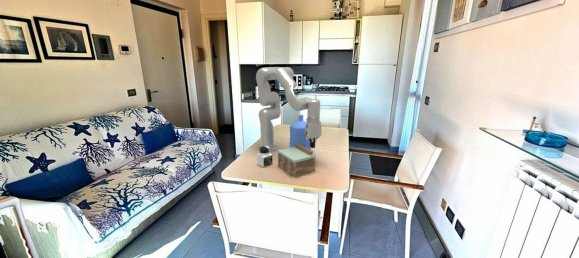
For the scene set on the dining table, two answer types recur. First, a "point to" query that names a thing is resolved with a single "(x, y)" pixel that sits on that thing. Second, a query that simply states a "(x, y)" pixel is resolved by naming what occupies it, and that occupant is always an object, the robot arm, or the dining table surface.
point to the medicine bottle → (264, 157)
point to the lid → (297, 153)
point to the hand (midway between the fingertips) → (312, 147)
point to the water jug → (298, 133)
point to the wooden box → (296, 166)
